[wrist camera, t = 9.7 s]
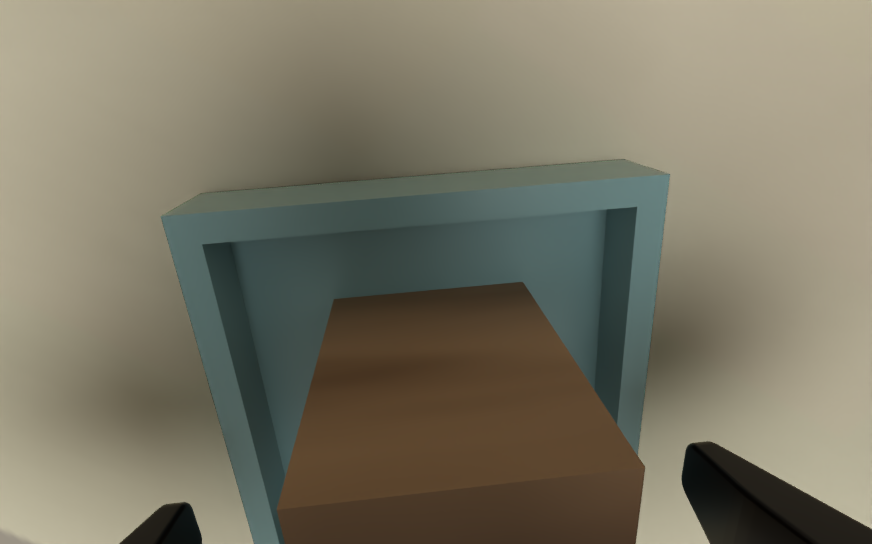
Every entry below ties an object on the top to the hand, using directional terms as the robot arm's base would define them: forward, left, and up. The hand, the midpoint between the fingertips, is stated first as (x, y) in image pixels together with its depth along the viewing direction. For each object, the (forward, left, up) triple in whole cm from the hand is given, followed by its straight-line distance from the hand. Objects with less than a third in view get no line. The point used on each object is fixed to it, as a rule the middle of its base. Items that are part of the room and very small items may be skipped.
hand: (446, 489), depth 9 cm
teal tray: (0, 0, -4) cm, 4 cm away
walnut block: (0, 0, -4) cm, 4 cm away
